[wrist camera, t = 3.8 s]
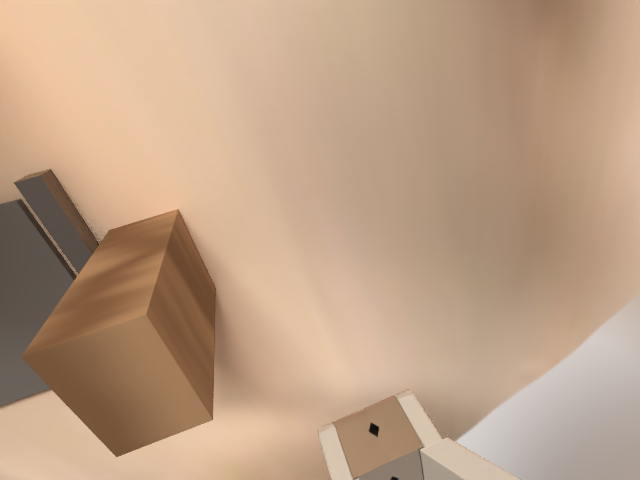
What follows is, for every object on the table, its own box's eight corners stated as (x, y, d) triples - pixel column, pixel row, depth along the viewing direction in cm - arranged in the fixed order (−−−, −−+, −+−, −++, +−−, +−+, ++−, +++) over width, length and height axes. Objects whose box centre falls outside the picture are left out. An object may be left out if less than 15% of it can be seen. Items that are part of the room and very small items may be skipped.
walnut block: (178, 209, 20) (145, 314, 11) (215, 288, 23) (212, 419, 14) (109, 230, 19) (20, 357, 11) (156, 308, 22) (116, 457, 14)
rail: (50, 169, 17) (39, 175, 16) (169, 354, 24) (166, 367, 23) (26, 176, 17) (13, 182, 16) (152, 360, 24) (149, 373, 23)
